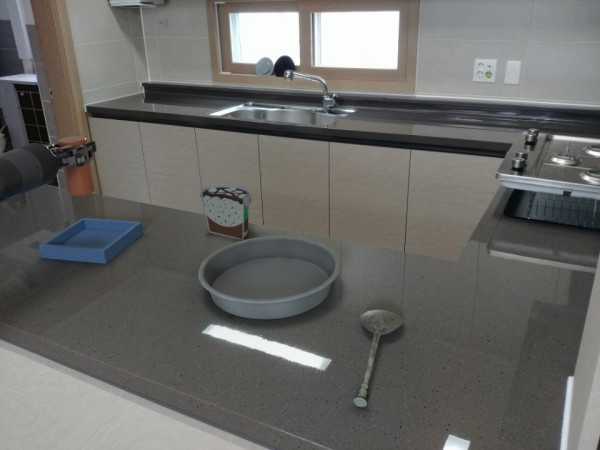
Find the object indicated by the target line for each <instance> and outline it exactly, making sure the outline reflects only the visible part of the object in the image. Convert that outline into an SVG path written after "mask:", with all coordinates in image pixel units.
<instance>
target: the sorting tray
mask: <svg viewBox="0 0 600 450" xmlns="http://www.w3.org/2000/svg"><path fill="white" fill-rule="evenodd" d="M142 235H144V227H143V222H142V221H136V220H135V221H134V220H119V219H104V218H91V217H81V218H80V219H79V220H76V221H75V222H73V223H72V224H70V225H69V226H67V227H66V228H63V230H61V231H59V232H58V233H56V234H55V235H53V236H51V237H49V238H48V239H47V240H45V241H43V242H42V243H40V244H39V245H38V250H39V253H40V256H41V257H40V258H41V259H48V260H49V259H50V260H59V261H60V260H61V261H71V262H80V263H81V262H82V263H94V264H101V265H102V264H103V265H104V264H105V265H106V264H108V263H109V262H111V260H113V259H114V258H116V257H117V255H119V254H120V253H121V252H123V251H124V250H125V249H126V248H127V247H129V246H130V245H131V244H133V243H134V242H135V241H136V240H138V238H141V236H142Z"/></svg>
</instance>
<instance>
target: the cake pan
mask: <svg viewBox="0 0 600 450" xmlns="http://www.w3.org/2000/svg"><path fill="white" fill-rule="evenodd" d="M340 271H341V262H340V258H339V256H338V255H337V254H336V252H335V251H334V250H332V249H331V248H330V247H328V246H326V245H325V244H322V243H320V242H318V241H315V240H311V239H307V238H305V237H303V238H302V237H297V236H288V235H286V236H285V235H271V236H270V235H269V236H258V237H253V238H246V239H245V240H238V241H236V242H232V243H230V244H227V245H225V246H223V247H220V248H219V249H217V250H215V251H213V252H212V253H211V254H209V255H208V256H207V257H206V258H205V259H204V260H203V261H202V262H201V263H200V265H199V268H198V272H197V277H198V281H199V283H200V284H201V285H202V287H203V288H204V289H205V290H206V291H208V292H209V295H210V297H211V299H212V301H213V302H214V304H215V305H216V306H217V307H218V308H219V309H221V310H223V311H224V312H226V313H228V314H231V315H233V316H236V317H240V318H244V319H252V320H277V319H285V318H290V317H295V316H297V315H298V316H299V315H301V314H304V313H306V312H309V311H311V310H313V309H315V308H316V307H318V306H319V305H321V304H322V303H323V302H324V301H325V300H326V299H327V298H328V296H329V294H330V293H331V291H332V286H333V282H334V281H335V280H336V278H338V276H339V274H340Z"/></svg>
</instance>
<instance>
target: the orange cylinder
mask: <svg viewBox="0 0 600 450" xmlns="http://www.w3.org/2000/svg"><path fill="white" fill-rule="evenodd" d="M87 142H88V141H87V137H86V136H84V135H73V136H72V135H71V136H65V137H62V138H59V139H58V140H57V143H58V144H59V148H61V147H65V146H69V145H71V146H79V145H82V144H85V143H87ZM66 151H68V153H69V150H66ZM78 151H79V150H77V151H76V152H78ZM69 157H70V153H69ZM91 164H92V163H91V161H90V162H88V163H87V164H85V165H84V166H82V167H77V164H72V165H69V166H66V167H65V168H63V172H64V173H63V174H64V177H65V182H66V187H67V191H68V194H69V195H70V196H75V197H79V196H86V195H91V194H92V193H94V192H96V190H97V189H96V184H95V180H94V174H93V169H92V168H93V167H92V165H91Z"/></svg>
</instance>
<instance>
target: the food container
mask: <svg viewBox="0 0 600 450" xmlns="http://www.w3.org/2000/svg"><path fill="white" fill-rule="evenodd" d="M199 198H201V199H202V203H203V208H204V209H203V210H204V214H205V219H206V224H207V230H208V233H210V234H214V235H218V236H223V237H227V238H230V239H234V240H235V239H236V240H238V241H242V240H247V239H248V236H249V210H250V209H249V208H250V205H251V204H252V201H253V199H252V195H251V192H250V191H249V189H248V188H247V187H246V186H244V185H241V184H235V183H220V184H219V183H217V184H212V185H208V186H204V187H202V188H200V191H199Z"/></svg>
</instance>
